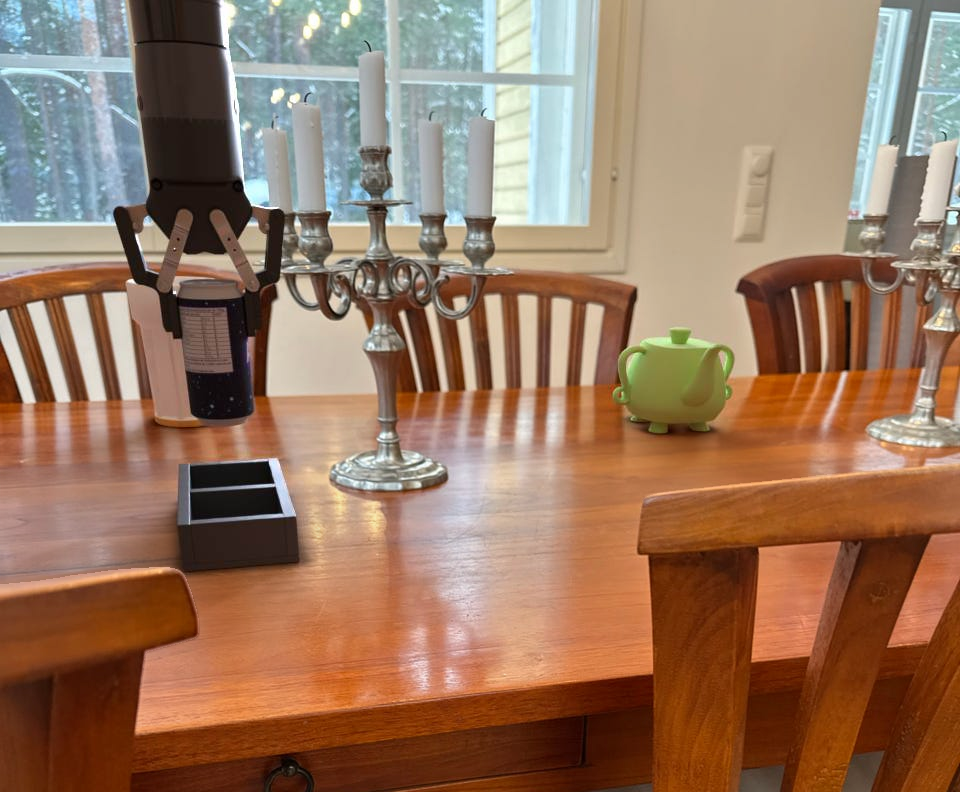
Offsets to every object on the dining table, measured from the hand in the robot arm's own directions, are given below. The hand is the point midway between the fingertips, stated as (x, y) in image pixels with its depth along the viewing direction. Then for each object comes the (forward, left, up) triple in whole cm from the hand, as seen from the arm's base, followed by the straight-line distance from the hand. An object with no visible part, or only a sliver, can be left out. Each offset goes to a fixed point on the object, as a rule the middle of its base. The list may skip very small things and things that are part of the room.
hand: (214, 336), depth 79 cm
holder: (0, -4, -17) cm, 17 cm away
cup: (-4, +41, -17) cm, 44 cm away
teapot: (+59, +24, -17) cm, 66 cm away
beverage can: (0, 0, -8) cm, 8 cm away
